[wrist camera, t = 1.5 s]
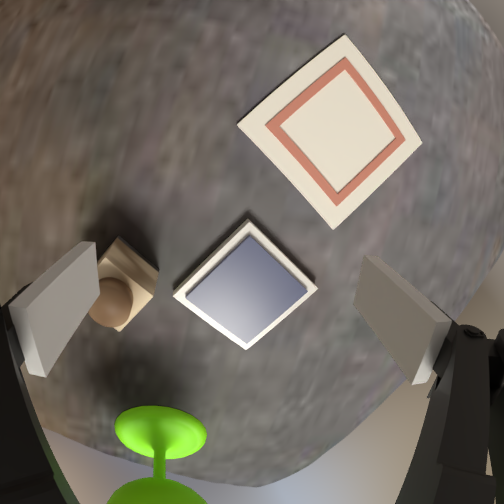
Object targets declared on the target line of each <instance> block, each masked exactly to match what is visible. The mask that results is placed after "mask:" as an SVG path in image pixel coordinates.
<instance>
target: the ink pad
mask: <svg viewBox="0 0 504 504" xmlns="http://www.w3.org/2000/svg"><path fill="white" fill-rule="evenodd" d="M317 289H318V288H317V287H316V285H315V284H314V283H313V282H312V281H311V280H310V279H309V278H308V277H307V276H306V275H305V274H304V273H303V272H302V271H301V270H300V269H299V268H298V267H297V266H296V265H295V264H294V263H293V262H292V261H291V260H290V259H289V258H288V257H287V256H286V255H285V254H284V253H283V252H282V251H281V250H280V249H279V248H278V247H277V246H276V245H275V244H274V243H273V242H272V241H271V240H270V239H269V238H268V237H267V236H266V235H265V234H264V233H263V232H262V231H261V230H259V229H258V228H257V227H256V226H255V225H254V224H253V223H252V222H251V221H250V220H249V219H247V220H246V221H245V222H243V223H242V224H241V225H240V226H239V227H238V228H237V229H236V230H235V231H234V232H233V233H232V234H231V235H230V236H229V237H228V238H227V239H226V240H225V241H224V242H223V243H222V244H221V245H220V246H219V247H218V248H217V249H216V250H215V251H214V252H213V253H212V254H210V255H209V256H208V257H207V258H206V259H205V260H204V261H203V262H202V263H201V264H200V265H199V266H198V267H197V268H196V269H195V270H194V271H193V272H192V273H191V274H190V275H189V276H188V277H187V278H186V279H185V280H184V281H183V282H182V283H181V284H180V285H179V286H178V287H177V288H176V289H175V290H174V291H173V297H175V298H176V299H177V300H178V301H180V302H181V303H182V304H184V305H185V306H186V307H188V308H189V309H190V310H192V311H193V312H194V313H196V314H197V315H198V316H200V317H201V318H202V319H204V320H205V321H206V322H208V323H209V324H210V325H212V326H213V327H214V328H216V329H217V330H219V331H220V332H221V333H223V334H224V335H226V336H227V337H228V338H230V339H231V340H233V341H234V342H235V343H237V344H238V345H240V346H241V347H242V348H244V349H245V350H247V349H248V348H249V347H250V346H252V345H253V344H254V343H255V342H257V341H258V340H259V339H260V338H261V337H263V336H264V335H265V334H266V333H267V332H269V331H270V330H271V329H272V328H273V327H274V326H276V325H277V324H278V323H279V322H280V321H282V320H283V319H284V318H285V317H286V316H287V315H289V314H290V313H291V312H292V311H293V310H294V309H295V308H297V307H298V306H299V305H300V304H301V303H302V302H303V301H305V300H306V299H307V298H308V297H309V296H310V295H311V294H313V293H314V292H315V291H316V290H317Z"/></svg>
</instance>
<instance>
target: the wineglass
mask: <svg viewBox="0 0 504 504" xmlns="http://www.w3.org/2000/svg"><path fill="white" fill-rule="evenodd" d="M114 425H115V432H116V434H117V436H118V438H119V439H120V441H121V442H122V443H123V444H125V445H126V446H127V447H128V448H130V449H131V450H133V451H135V452H137V453H139V454H142V455H144V456H148V457H152V458H154V471H153V477H148V478H142V479H138V480H134V481H131V482H128V483H127V484H125V485H123V486H122V487H120V488H119V489H118V490H116V491H115V492H114V493H113V495H112V496H111V497H110V499H109V501H108V502H107V504H207V503H206V501H205V500H204V499H203V498H202V497H200V496H199V495H198V494H197V493H196V492H195V491H193V490H192V489H191V488H189V487H187V486H185V485H183V484H180V483H179V482H176V481H173V480H170V479H166V476H165V475H166V474H165V459H176V458H181V457H185V456H188V455H191V454H193V453H195V452H196V451H198V450H199V449H200V448H201V447H202V446H203V445H204V443H205V441H206V437H207V432H206V428H205V427H204V426H203V424H202V423H201V422H200V421H199V420H198V419H196V418H195V417H194V416H192V415H190V414H188V413H186V412H183V411H181V410H177V409H174V408H170V407H163V406H140V407H135V408H131V409H129V410H127V411H124V412H122V413H121V414H120V415H119V416H118V417H117V419H116V421H115V424H114Z"/></svg>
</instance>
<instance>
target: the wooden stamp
mask: <svg viewBox="0 0 504 504" xmlns="http://www.w3.org/2000/svg"><path fill="white" fill-rule="evenodd" d="M97 269H98V279H99V288H100V295H99V296H98V298H97V299H96V301H95V302H94V304H93V305H92V306H91V308H90V309H89V311H88V313H89V315H90V316H91V317H92V319H93V320H95V321H96V322H97V323H99V324H101V325H103V326H106V327H113V328H115V329H116V330H118V331H119V332H120V331H121V330H122V329H123V328H124V327H125V326H126V325H127V323H128V322H129V321H130V320H131V319H132V318H133V317H134V316H135V315H136V314H137V313H138V312H139V311H140V310H141V309H142V308H143V307H144V306H145V305H146V304H147V303H148V302H149V301H150V299H151V298H152V297H153V296H154V292H155V287H156V282H157V277H158V273H159V269H158V268H157V267H156V266H155V265H153V264H152V263H151V262H150V261H149V260H147V259H146V258H145V257H144V256H143V255H141V254H140V253H139V252H138V251H137V250H136V249H134V248H133V247H132V246H131V245H130V244H128V243H127V242H126V241H125V240H124V239H123V238H121V237H120V236H119V235H118V237H117V238H116V239H115V240H114V241H113V243H112V244H111V245H110V246H109V247H108V249H107V250H106V251H105V252H104V254H103V255H102V256H101V257H100V259H99V260H98V261H97Z"/></svg>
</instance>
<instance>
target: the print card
mask: <svg viewBox="0 0 504 504" xmlns="http://www.w3.org/2000/svg"><path fill="white" fill-rule="evenodd" d="M237 126H238V127H239V128H240V129H241V130H242V131H243V132H244V133H245V134H246V135H247V136H248V137H249V138H250V139H251V140H252V141H253V142H254V143H255V144H256V145H257V146H258V147H259V148H260V150H261V151H262V152H263V153H264V154H265V155H266V156H267V157H268V158H269V159H270V160H271V161H272V162H273V163H274V164H275V165H276V166H277V168H278V169H279V170H280V171H281V172H282V173H283V174H284V175H285V176H286V177H287V178H288V179H289V181H290V182H291V183H292V184H293V185H294V186H295V187H296V188H297V189H298V190H299V192H300V193H301V194H302V195H303V196H304V197H305V198H306V199H307V201H308V202H309V203H310V204H311V205H312V206H313V207H314V208H315V210H316V211H317V212H318V213H319V214H320V215H321V217H322V218H323V219H324V220H325V221H326V222H327V223H328V225H329V226H330V227H331V228H332V229H333V230H334V229H335V228H336V227H337V226H338V225H339V224H340V223H341V222H342V221H343V220H344V219H345V218H347V217H348V216H349V215H350V214H351V213H352V212H353V211H354V210H355V209H356V208H357V207H358V206H359V205H360V204H361V203H362V202H363V201H364V200H365V199H366V198H367V197H368V196H369V195H370V194H371V193H373V192H374V191H375V190H376V189H377V188H378V187H379V186H380V185H381V184H382V183H383V182H384V181H385V180H386V179H387V178H388V177H389V176H390V175H391V174H392V173H393V172H394V171H395V170H396V169H397V168H398V167H399V166H400V165H401V164H402V163H403V162H404V161H405V160H406V159H407V158H408V157H409V156H410V155H411V154H412V153H413V152H414V151H415V150H416V149H417V148H418V147H419V146H420V145H421V144H422V141H421V140H420V138H419V136H418V135H417V133H416V131H415V130H414V128H413V126H412V125H411V123H410V122H409V120H408V118H407V117H406V115H405V114H404V112H403V111H402V109H401V108H400V106H399V105H398V103H397V102H396V100H395V99H394V97H393V96H392V94H391V93H390V92H389V90H388V89H387V87H386V86H385V85H384V83H383V82H382V80H381V79H380V78H379V76H378V75H377V74H376V72H375V71H374V70H373V68H372V67H371V66H370V64H369V63H368V62H367V61H366V59H365V58H364V57H363V55H362V54H361V53H360V52H359V51H358V49H357V48H356V47H355V46H354V44H353V43H352V42H351V41H350V40H349V38H348V37H347V36H346V35H343V36H342V37H341V38H339V39H338V40H337V41H335V42H334V43H333V44H331V45H330V46H329V47H327V48H326V49H325V50H324V51H322V52H321V53H320V54H319V55H317V56H316V57H315V58H313V59H312V60H311V61H310V62H308V63H307V64H306V65H305V66H304V67H302V68H301V69H300V70H299V71H297V72H296V73H295V74H294V75H293V76H291V77H290V78H289V79H288V80H287V81H285V82H284V83H283V84H282V85H281V86H280V87H278V88H277V89H276V90H275V91H274V92H273V93H271V94H270V95H269V96H268V97H267V98H266V99H265V100H263V101H262V102H261V103H260V104H259V105H258V106H257V107H256V108H254V109H253V110H252V111H251V112H250V113H249V114H248V115H247V116H246V117H245V118H243V119H242V120H241V121H240V122H239V123H238V124H237Z"/></svg>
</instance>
